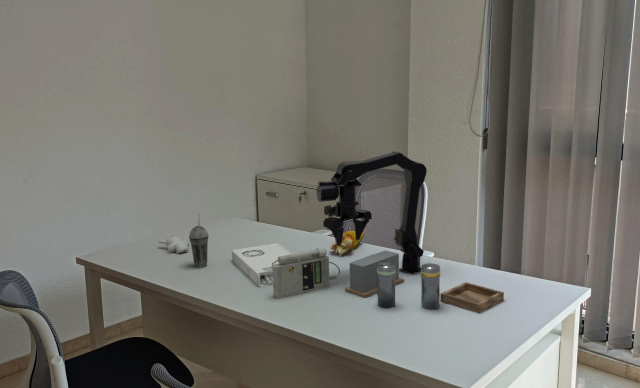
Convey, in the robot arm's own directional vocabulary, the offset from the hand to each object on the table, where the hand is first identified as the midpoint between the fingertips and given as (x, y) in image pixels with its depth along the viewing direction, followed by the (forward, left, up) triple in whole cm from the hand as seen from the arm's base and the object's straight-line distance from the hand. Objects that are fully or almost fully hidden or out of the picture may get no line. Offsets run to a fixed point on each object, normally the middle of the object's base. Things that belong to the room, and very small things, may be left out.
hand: (348, 242), depth 226 cm
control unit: (0, +12, -13) cm, 18 cm away
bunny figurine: (+22, -78, -13) cm, 82 cm away
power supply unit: (+12, -29, -14) cm, 35 cm away
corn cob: (-26, -24, -14) cm, 38 cm away
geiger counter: (+17, -3, -13) cm, 22 cm away
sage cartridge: (+10, +25, -13) cm, 30 cm away
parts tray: (-11, +43, -13) cm, 46 cm away
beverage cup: (+27, -52, -13) cm, 60 cm away
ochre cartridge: (+2, +36, -13) cm, 39 cm away
